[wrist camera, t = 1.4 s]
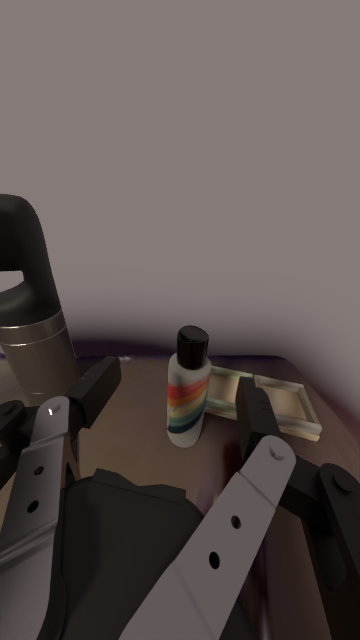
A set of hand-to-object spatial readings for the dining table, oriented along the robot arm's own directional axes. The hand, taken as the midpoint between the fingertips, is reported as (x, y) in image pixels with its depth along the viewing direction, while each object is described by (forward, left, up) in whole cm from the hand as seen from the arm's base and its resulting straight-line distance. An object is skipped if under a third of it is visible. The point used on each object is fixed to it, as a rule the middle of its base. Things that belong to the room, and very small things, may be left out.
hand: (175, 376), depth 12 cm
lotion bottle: (0, +10, -22) cm, 25 cm away
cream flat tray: (+12, +19, -22) cm, 32 cm away
